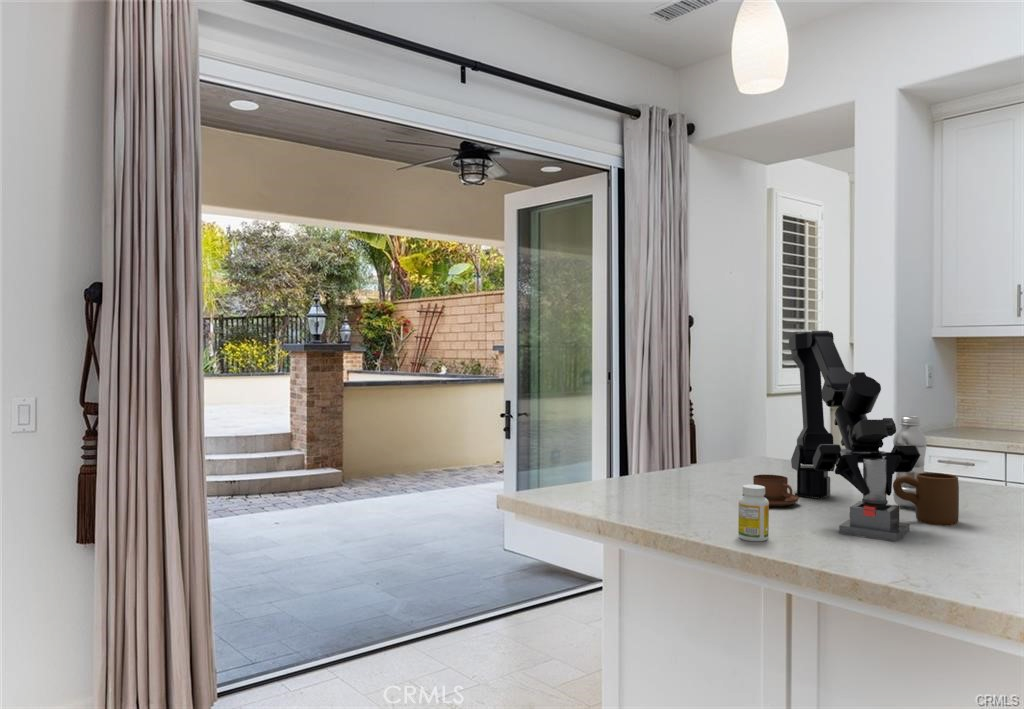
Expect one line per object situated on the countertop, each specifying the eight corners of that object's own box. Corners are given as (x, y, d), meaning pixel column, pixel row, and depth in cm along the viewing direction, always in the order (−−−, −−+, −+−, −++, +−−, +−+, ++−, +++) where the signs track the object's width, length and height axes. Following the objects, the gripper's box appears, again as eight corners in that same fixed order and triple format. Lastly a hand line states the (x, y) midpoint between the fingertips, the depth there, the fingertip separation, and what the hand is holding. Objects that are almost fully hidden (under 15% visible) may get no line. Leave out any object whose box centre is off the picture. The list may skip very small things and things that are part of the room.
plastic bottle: (932, 511, 161) (932, 418, 160) (897, 510, 162) (898, 418, 162) (921, 505, 167) (922, 416, 167) (889, 504, 168) (889, 415, 168)
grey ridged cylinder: (859, 521, 142) (859, 459, 142) (865, 517, 145) (865, 456, 145) (884, 524, 139) (884, 461, 139) (890, 520, 142) (890, 459, 142)
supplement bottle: (748, 542, 135) (748, 489, 135) (732, 535, 140) (732, 484, 140) (774, 540, 136) (775, 488, 136) (758, 533, 141) (758, 483, 141)
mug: (898, 524, 149) (898, 477, 149) (887, 515, 157) (888, 471, 157) (964, 527, 146) (964, 479, 146) (951, 518, 154) (951, 473, 154)
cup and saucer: (807, 504, 169) (807, 476, 169) (785, 512, 160) (785, 483, 160) (756, 497, 177) (756, 471, 177) (733, 504, 169) (733, 477, 169)
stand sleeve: (839, 533, 142) (839, 504, 141) (854, 523, 149) (854, 496, 149) (896, 541, 135) (897, 511, 135) (909, 531, 143) (909, 502, 143)
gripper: (817, 403, 147) (838, 468, 136) (916, 403, 145) (944, 469, 134) (804, 438, 154) (822, 502, 144) (897, 439, 153) (923, 504, 142)
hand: (877, 494), depth 141 cm, fingers closed on grey ridged cylinder, 4 cm apart
